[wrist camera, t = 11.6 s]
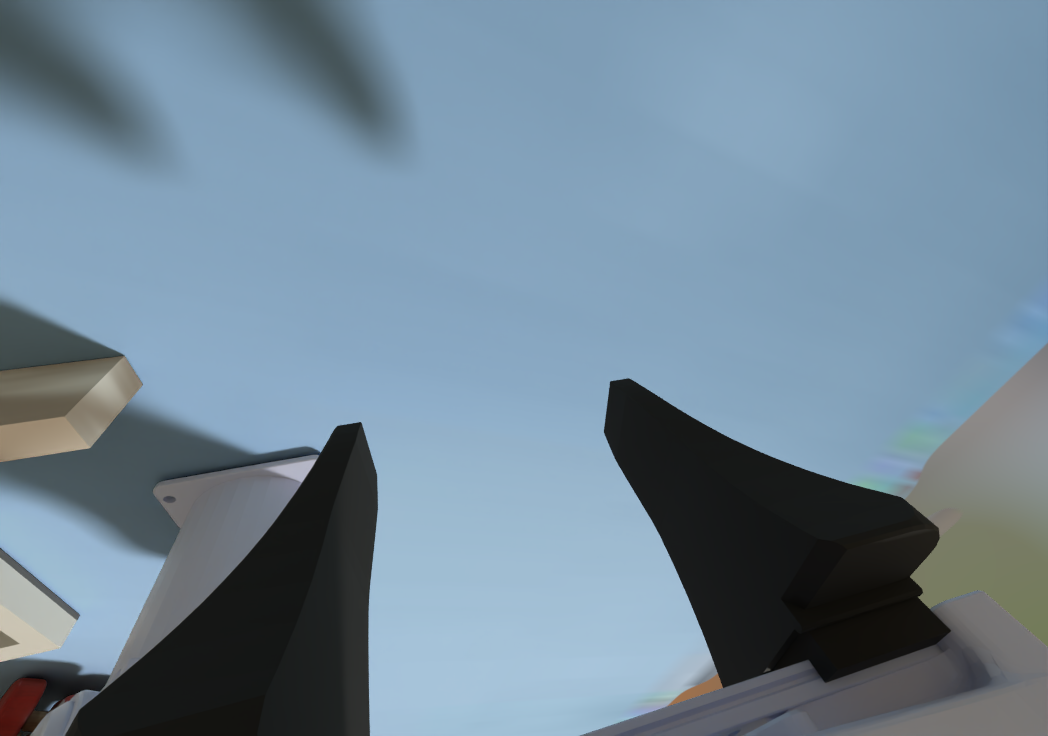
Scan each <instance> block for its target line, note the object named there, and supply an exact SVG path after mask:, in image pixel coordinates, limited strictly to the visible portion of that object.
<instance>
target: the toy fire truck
mask: <svg viewBox="0 0 1048 736" xmlns="http://www.w3.org/2000/svg"><path fill="white" fill-rule="evenodd" d="M46 685H47V682H46V680H44V679H34V678H20V679H18V680H16V681H15V682H14V683H13V684H12V685H11V686H10V688H9V689H8V690H7V692H6V693H5V694H4V695H3V697H2V698H1V700H0V736H22V733H21V732H20V730H21V729H22V731H24V732H25V731H28V732H32V733H33V731H34V730H35V728H36V727H37V726H38V724H39V723H40V722H41V720H42V719H43V718H44V717H45V716H46V715H47V714H48V713H49V712H50V711H52V710H54V709H55V708H57V707H59V706H60V705H62V704H64V703H65V702H67V701H70V700H71V698H72V697H73V696H75V695H70V696H68V697H66V698H65V699H64V700H60V701H58V702H57V703H56V704H55V705H54V706H53V707H52V708H51V710H50V711H49V712H46V711H35V710H34V709H35V708H36V706H37V704H38V702H39V700H40V699H41V697H42V695H43V693H44V691H45V688H46ZM32 733H31V734H32ZM31 734H29V735H26V736H30V735H31Z"/></svg>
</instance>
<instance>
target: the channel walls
mask: <svg viewBox="0 0 1048 736" xmlns="http://www.w3.org/2000/svg"><path fill="white" fill-rule="evenodd" d="M142 385H143V384H142V382H141V381H140V379H139V378H138V376H137V375H136V373H135V372H134V370H133V368H132V367H131V365H130V364H129V362H128V361H127V359H126V357H125V356H119V357H111V358H103V359H94V360H86V361H78V362H70V363H61V364H53V365H45V366H37V367H29V368H20V369H12V370H4V371H0V462H5V461H11V460H17V459H24V458H30V457H37V456H43V455H49V454H56V453H62V452H69V451H75V450H81V449H88V448H91V447H92V445H93V444H94V443H95V442H96V441H97V439H98V438H99V437H100V436H101V434H102V433H103V432H104V431H105V430H106V428H107V427H108V426H109V425H110V424H111V422H112V421H113V420H114V419H115V418H116V416H117V415H118V414H119V413H120V412H121V410H122V409H123V408H124V407H125V406H126V404H127V403H128V402H129V401H130V400H131V398H132V397H133V396H134V395H135V394H136V392H137V391H138V390H139V389H140V388H141V386H142Z"/></svg>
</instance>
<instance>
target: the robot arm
mask: <svg viewBox="0 0 1048 736" xmlns="http://www.w3.org/2000/svg"><path fill="white" fill-rule="evenodd" d="M604 433H605V436H606V438H607V441H608V443H609V446H610V448H611V450H612V453H613V455H614V457H615V459H616V461H617V463H618V465H619V467H620V468H621V470H622V472H623V473H624V475H625V477H626V478H627V480H628V482H629V483H630V485H631V487H632V488H633V490H634V492H635V493H636V495H637V497H638V498H639V500H640V502H641V503H642V505H643V507H644V508H645V510H646V512H647V513H648V515H649V517H650V518H651V520H652V522H653V523H654V525H655V527H656V529H657V531H658V533H659V534H660V536H661V539H662V541H663V543H664V545H665V547H666V549H667V551H668V553H669V556H670V558H671V560H672V562H673V564H674V566H675V569H676V571H677V573H678V575H679V578H680V580H681V582H682V584H683V587H684V589H685V591H686V593H687V596H688V598H689V601H690V603H691V605H692V608H693V610H694V613H695V615H696V618H697V620H698V623H699V625H700V627H701V630H702V632H703V635H704V637H705V640H706V643H707V645H708V648H709V651H710V653H711V656H712V659H713V661H714V664H715V667H716V669H717V672H718V675H719V678H720V680H721V683H722V686H723V688H722V689H719V690H716V691H713V692H710V693H707V694H704V695H701V696H698V697H695V698H692V699H689V700H686V701H683V702H680V703H677V704H674V705H671V706H668V707H665V708H662V709H659V710H656V711H653V712H650V713H647V714H644V715H641V716H638V717H635V718H632V719H629V720H626V721H623V722H620V723H617V724H614V725H611V726H608V727H605V728H602V729H598V730H595V731H592V732H589V733H586V734H583V735H580V736H1048V647H1047V646H1046V645H1045V644H1044V643H1043V642H1041V641H1040V640H1039V639H1038V638H1037V637H1036V636H1034V635H1033V634H1032V633H1031V632H1030V631H1028V629H1026V628H1025V627H1024V626H1023V625H1022V624H1020V623H1019V622H1018V621H1017V620H1016V619H1015V618H1014V617H1012V616H1011V615H1010V614H1009V613H1008V612H1007V611H1006V610H1004V609H1003V608H1002V607H1001V606H1000V605H999V604H997V603H996V602H995V601H994V600H993V599H992V598H990V597H989V596H988V595H987V594H986V593H985V592H983V591H978V590H977V591H974V592H971V593H968V594H965V595H961V596H958V597H955V598H952V599H949V600H946V601H944V602H941V603H939V604H937V605H936V606H934V607H932V608H931V609H929V608H928V607H927V606H926V605H925V604H924V603H923V602H922V601H921V600H920V599H919V598H918V596H920V595H921V594H922V593H923V591H922V588H921V587H920V586H919V585H918V584H916V583H915V582H914V581H913V580H912V579H911V578H910V575H911V574H912V573H913V572H914V571H915V570H916V569H917V568H918V567H919V565H920V564H921V563H922V562H923V561H924V560H925V559H926V558H927V557H928V555H929V554H930V553H931V552H932V550H933V549H934V548H935V547H936V545H937V543H938V541H939V538H940V537H939V528H938V527H937V526H935V525H934V524H933V523H932V522H931V521H929V520H928V519H927V518H926V517H925V516H923V515H922V514H921V513H920V512H919V511H917V510H916V509H915V508H914V507H913V506H911V505H910V504H909V503H908V502H907V501H905V500H904V499H903V498H901V497H898V496H894V495H890V494H887V493H883V492H879V491H875V490H871V489H867V488H864V487H860V486H856V485H852V484H849V483H845V482H842V481H839V480H836V479H832V478H829V477H826V476H823V475H820V474H817V473H814V472H811V471H808V470H805V469H802V468H799V467H797V466H794V465H791V464H789V463H786V462H784V461H781V460H778V459H776V458H773V457H771V456H768V455H766V454H764V453H761V452H759V451H757V450H754V449H752V448H750V447H748V446H746V445H744V444H741V443H739V442H737V441H735V440H733V439H731V438H729V437H727V436H725V435H723V434H721V433H719V432H717V431H716V430H714V429H712V428H710V427H708V426H706V425H705V424H703V423H701V422H699V421H698V420H696V419H694V418H692V417H691V416H689V415H687V414H686V413H684V412H682V411H681V410H679V409H677V408H676V407H674V406H673V405H671V404H669V403H668V402H666V401H665V400H663V399H662V398H660V397H658V396H657V395H655V394H654V393H652V392H651V391H649V390H647V389H646V388H644V387H643V386H641V385H639V384H638V383H636V382H634V381H633V380H631V379H629V378H628V379H622V380H616V381H610V388H609V396H608V404H607V411H606V419H605V427H604ZM153 494H154V495H155V497H156V498H157V499H158V501H159V502H160V503H161V504H162V506H163V507H164V508H165V510H166V511H167V512H168V514H169V515H170V516H171V518H172V519H173V520H174V522H175V523H176V524H177V526H178V527H179V528H180V531H179V534H178V536H177V538H176V540H175V542H174V544H173V546H172V548H171V550H170V552H169V554H168V556H167V559H166V561H165V563H164V565H163V567H162V569H161V571H160V573H159V575H158V577H157V579H156V581H155V584H154V586H153V588H152V590H151V592H150V594H149V596H148V598H147V600H146V602H145V604H144V606H143V609H142V611H141V613H140V615H139V617H138V619H137V621H136V623H135V625H134V627H133V629H132V631H131V634H130V636H129V638H128V640H127V642H126V644H125V646H124V648H123V650H122V652H121V654H120V656H119V659H118V661H117V663H116V665H115V667H114V669H113V671H112V673H111V675H110V677H109V679H108V681H107V683H106V685H105V686H104V688H103V689H102V690H101V691H100V692H98V691H92V690H83V691H80V692H79V693H77V694H76V695H75V696H73V697H72V698H71V700H70V701H67V702H65V703H64V704H62V705H60V706H59V707H57V708H55V709H54V710H52V711H50V712H49V713H48V714H47V715H46V716H45V717H44V718H43V719H42V720H41V722H40V723H39V724H38V726H37V727H36V728H35V730H34V731H33V733H32V734H31V735H30V736H370V723H369V664H368V611H369V590H370V580H371V570H372V561H373V551H374V542H375V532H376V522H377V511H378V492H377V473H376V470H375V466H374V463H373V460H372V456H371V453H370V450H369V446H368V443H367V440H366V436H365V433H364V430H363V426H362V423H361V422H359V423H353V424H347V425H340V426H337V427H336V428H335V429H334V431H333V433H332V434H331V436H330V438H329V440H328V441H327V443H326V445H325V447H324V448H323V450H322V452H321V453H320V455H309V456H303V457H298V458H292V459H286V460H280V461H275V462H269V463H263V464H258V465H252V466H246V467H240V468H235V469H229V470H223V471H217V472H212V473H206V474H200V475H194V476H189V477H183V478H177V479H171V480H166V481H161V482H159V483H157V484H156V486H155V487H154V489H153ZM170 496H172V497H170Z"/></svg>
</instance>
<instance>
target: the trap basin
mask: <svg viewBox="0 0 1048 736" xmlns="http://www.w3.org/2000/svg"><path fill="white" fill-rule="evenodd" d="M79 616H80V615H79V614H78V613H77V612H75V611H74V610H73V609H72V608H71V607H69V606H68V605H67V604H66V603H65V602H63V601H62V600H61V599H60V598H59V597H57V596H56V595H55V594H54V593H53V592H51V591H50V590H49V589H48V588H47V587H46V586H44V585H43V584H42V583H41V582H40V581H38V580H37V579H36V578H35V577H34V576H32V575H31V574H30V573H29V572H28V571H26V570H25V569H24V568H23V567H22V566H20V565H19V564H18V563H17V562H16V561H14V560H13V559H12V558H11V557H10V556H8V555H7V554H6V553H5V552H4V551H2V550H1V549H0V662H3V661H7V660H11V659H15V658H20V657H24V656H28V655H33V654H37V653H41V652H46V651H50V650H54V649H59V648H61V647H62V645H63V643H64V642H65V640H66V638H67V636H68V635H69V633H70V631H71V630H72V628H73V626H74V625H75V623H76V621H77V620H78V618H79Z"/></svg>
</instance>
